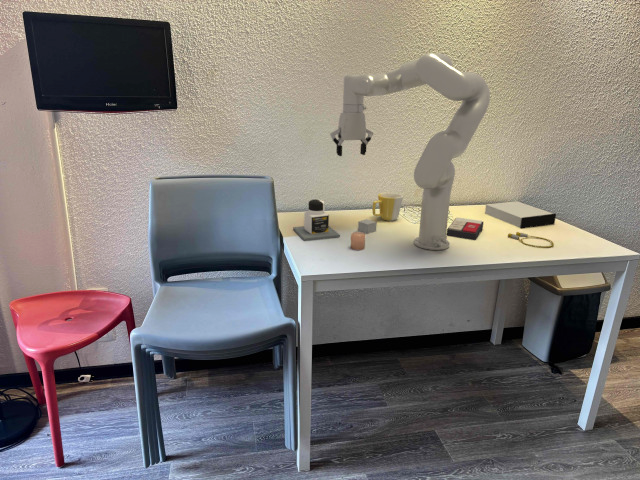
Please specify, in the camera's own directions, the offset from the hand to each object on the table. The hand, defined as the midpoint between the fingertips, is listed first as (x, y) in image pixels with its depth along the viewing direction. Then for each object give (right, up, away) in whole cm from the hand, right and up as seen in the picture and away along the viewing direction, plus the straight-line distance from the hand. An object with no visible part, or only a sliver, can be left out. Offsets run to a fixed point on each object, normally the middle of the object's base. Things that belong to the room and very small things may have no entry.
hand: (351, 155), depth 190 cm
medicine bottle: (-13, -29, -1) cm, 32 cm away
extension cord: (+67, -34, -5) cm, 75 cm away
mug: (+16, -24, +18) cm, 34 cm away
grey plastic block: (+6, -29, +3) cm, 30 cm away
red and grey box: (+45, -30, +3) cm, 54 cm away
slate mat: (-14, -30, -1) cm, 33 cm away
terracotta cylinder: (+1, -35, -15) cm, 38 cm away
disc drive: (+73, -24, +22) cm, 80 cm away
